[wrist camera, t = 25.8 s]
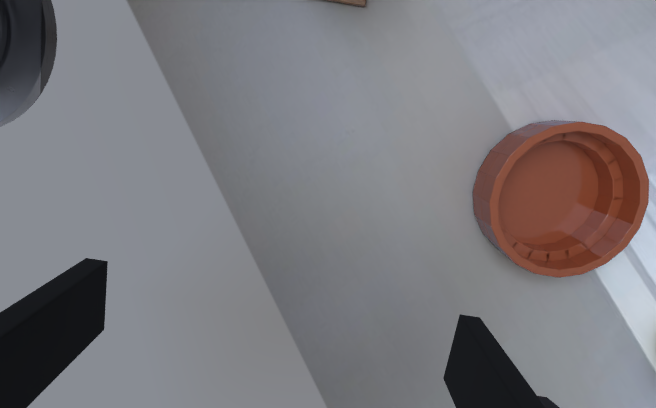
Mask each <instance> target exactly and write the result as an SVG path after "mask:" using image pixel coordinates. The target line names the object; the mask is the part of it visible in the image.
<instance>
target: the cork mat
mask: <svg viewBox="0 0 656 408" xmlns="http://www.w3.org/2000/svg"><path fill="white" fill-rule="evenodd" d="M328 1H333V2H339V3H344V4H350V5H355V6H361V7H365V4H366V0H328Z"/></svg>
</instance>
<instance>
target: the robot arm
mask: <svg viewBox="0 0 656 408" xmlns="http://www.w3.org/2000/svg"><path fill="white" fill-rule="evenodd" d="M6 39H7V23H6V16H5V11H4V7H3V4H2V1H1V0H0V61H1V59H2V56H3V54H4V50H5V46H6ZM106 281H107V261H101V260H95V259H88V258H86V259H84V260H83V261H81V262H79V263H78V264H76V265H75V266H73V267H72V268H70V269H68V270H67V271H65V272H64V273H62V274H60V275H59V276H57V277H56V278H54V279H53V280H51V281H49V282H48V283H46V284H45V285H43V286H41V287H40V288H38V289H37V290H36V291H34V292H32V293H31V294H29V295H27V296H26V297H24V298H23V299H21V300H19V301H18V302H16V303H15V304H13V305H11V306H10V307H9V308H7V309H5V310H4V311H2V312H0V408H27V407H28V406H29V405H30V403H32V401H34V399H35V398H36V397H37V396H38V395H39V394H40V393H41V392H42V391H43V390H44V389H45V388H46V387H47V386H48V385H49V384H50V383H51V382H52V381H53V380H54V379H55V378H56V377H57V376H58V375H59V374H60V373H61V372H62V371H63V370H64V369H65V368H66V367H67V366H68V365H69V364H70V363H71V362H72V361H73V360H74V359H75V358H76V357H77V356H78V355H79V354H80V353H81V352H82V351H83V350H84V349H85V348H86V347H87V346H88V345H89V344H90V343H91V342H92V341H93V340H94V339H95V338H96V337H97V336H98V335H99V334H100V333H101V332H102V331H103V330H104V320H105V300H106ZM443 379H444V381H445V383H446V385H447V388H448V390H449V392H450V395H451V397H452V399H453V402H454V404H455V406H456V408H559V407H558V406H557V405H556V404H554V403H553V402H552V401H551V400H549V399H548V398H547V397H541V396H537V395H536V394H535V393H534V391H533V390H532V388H531V387H530V386H529V384H528V383H527V382H526V380H525V379H524V378H523V376H522V375H521V373H520V372H519V371H518V369H517V368H516V367H515V365H514V364H513V362H512V361H511V360H510V358H509V357H508V356H507V354H506V353H505V352H504V350H503V349H502V347H501V346H500V345H499V343H498V342H497V341H496V339H495V338H494V336H493V335H492V334H491V332H490V331H489V330H488V328H487V327H486V326H485V324H484V323H483V321H482V320H481V319H480V318H479V317H473V316H466V315H460V316H459V320H458V324H457V328H456V332H455V336H454V340H453V343H452V347H451V351H450V355H449V359H448V363H447V367H446V371H445V374H444V378H443Z"/></svg>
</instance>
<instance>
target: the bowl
mask: <svg viewBox="0 0 656 408" xmlns="http://www.w3.org/2000/svg"><path fill="white" fill-rule="evenodd" d="M648 195H649V179H648V176H647V173H646V169H645V166H644V163H643V160H642V157H641V156H640V154H639V153H638V152H637V151H636V149H635V148H634V147H633V146H632V145H631V143H630V142H629V141H628V140H627V138H625V137H623V136H622V135H620V134H618V133H616V132H615V131H613V130H611V129H609V128H608V127H606V126H602V125H596V124H590V123H585V122H575V121H559V120H551V121H545V122H538V123H531V124H529V125H527V126H525V127H522V128H520V129H518V130H516V131H514V132H512V133H510V134H508V135H507V136H506V137H505V138H504V139H503V140H502V141H500V142H499V143H498V144H497V145H496V146H495V147H494V148H493V149H492V150H491V151H490V152H489V154H488V156H487V157H486V159H485V161H484V162H483V164H482V166H481V167H480V169H479V171H478V174H477V178H476V182H475V186H474V190H473V201H474V214H475V217H476V219H477V221H478V224H479V226H480V228H481V230H482V233H483V234H484V235H485V236H486V237H487V238H488V239H489V240H490V242H491V243H492V244H493V245H494V246H495V247H496V248H497V249H498V250H500V251H501V252H502V253H503V254H505V255H506V256H507V257H508V258H509V259H511V260H512V261H513V262H514V263H515V264H517V265H519V266H521V267H523V268H525V269H527V270H529V271H531V272H533V273H535V274H540V275H546V276H553V277H566V276H573V275H580V274H584V273H586V272H588V271H590V270H593V269H595V268H597V267H600V266H602V265H604V264H606V263H607V262H609V261H610V260H611V259H612V258H613V257H615V256H616V255H617V254H618V253H620V252H621V251H622V250H623V249H624V248H626V246H627V245H628V243H629V242H630V241H631V239H632V238H633V236H634V235H635V234H636V232H637V231H638V229H639V228H640V226H641V223H642V220H643V217H644V214H645V211H646V208H647V205H648Z"/></svg>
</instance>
